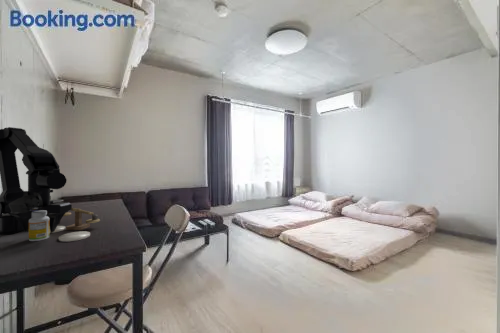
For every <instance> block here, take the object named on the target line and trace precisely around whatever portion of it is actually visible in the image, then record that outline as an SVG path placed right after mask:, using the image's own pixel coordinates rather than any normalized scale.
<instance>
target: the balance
mask: <svg viewBox="0 0 500 333" xmlns="http://www.w3.org/2000/svg"><path fill="white" fill-rule="evenodd" d="M70 211H72V212H74V223H73V224H70V225H67V226H65V230H68V231H83V230H85V229H87V228H89V227H91V224H95V223H98V222H100V221H101V219H100V218H98V214H94V212H93V211H92V212H91V211H88V210H83V209H81V208H74V207H72V210H70ZM70 211H68V212H67V213H65V214H64V216H63V217H68V216H71V215H72V212H70ZM83 214H85V215H89V216H91V217H92V218H90V219H86V220H85V223H83V216H82V215H83Z"/></svg>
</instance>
